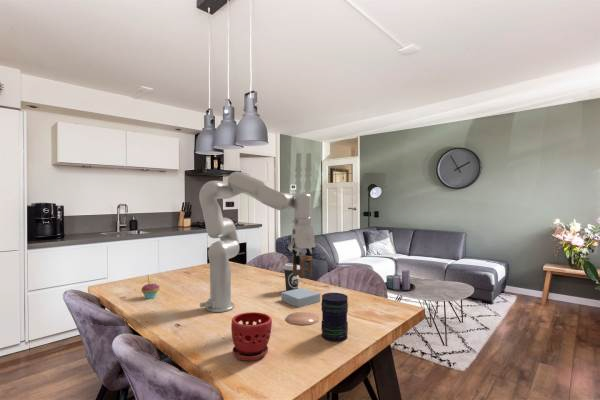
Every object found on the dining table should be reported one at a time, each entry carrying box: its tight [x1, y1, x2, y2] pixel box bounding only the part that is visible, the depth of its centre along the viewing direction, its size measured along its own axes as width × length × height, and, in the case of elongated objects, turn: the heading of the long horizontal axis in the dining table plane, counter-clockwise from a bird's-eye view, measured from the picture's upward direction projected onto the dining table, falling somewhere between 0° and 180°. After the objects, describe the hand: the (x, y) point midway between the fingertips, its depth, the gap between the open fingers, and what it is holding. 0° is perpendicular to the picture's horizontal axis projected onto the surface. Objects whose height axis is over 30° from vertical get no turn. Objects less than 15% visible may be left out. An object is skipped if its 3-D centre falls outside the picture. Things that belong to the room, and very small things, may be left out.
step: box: [280, 287, 321, 308], centre depth 160 cm, size 14×14×4 cm
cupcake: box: [141, 275, 160, 300], centre depth 165 cm, size 9×8×12 cm
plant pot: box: [230, 312, 273, 362], centre depth 104 cm, size 13×13×12 cm
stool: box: [292, 254, 313, 279], centre depth 137 cm, size 6×6×9 cm
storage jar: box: [320, 292, 349, 343], centre depth 118 cm, size 10×10×15 cm
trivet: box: [285, 311, 319, 326], centre depth 136 cm, size 14×14×1 cm
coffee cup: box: [282, 262, 300, 292], centre depth 176 cm, size 10×10×15 cm
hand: (302, 263), depth 137 cm, fingers closed on stool, 6 cm apart
